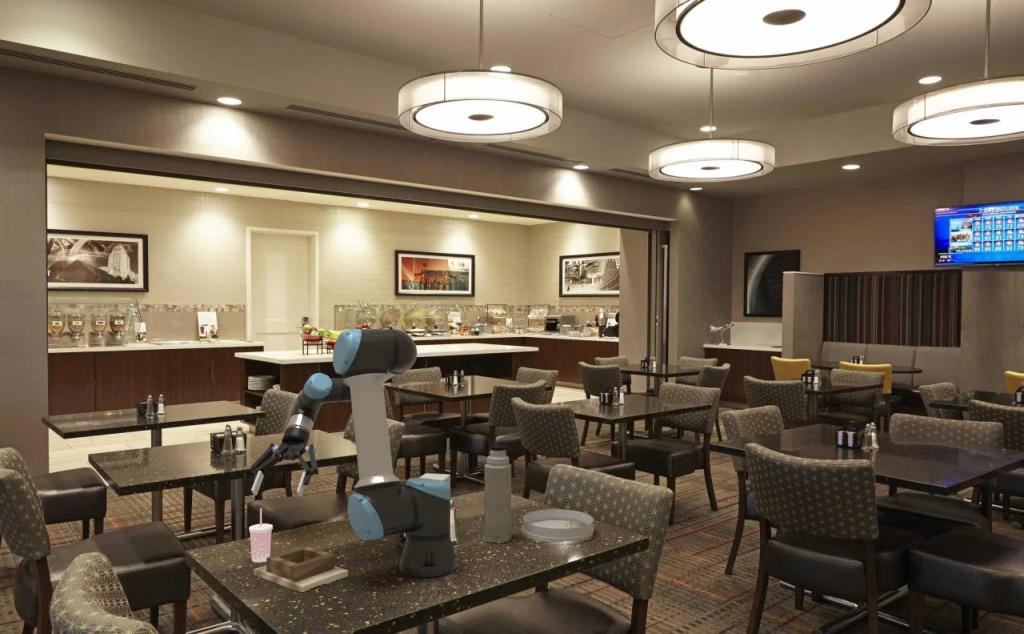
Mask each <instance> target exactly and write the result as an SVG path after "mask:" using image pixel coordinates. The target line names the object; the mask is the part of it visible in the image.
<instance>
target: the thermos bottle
mask: <svg viewBox="0 0 1024 634" xmlns="http://www.w3.org/2000/svg"><path fill="white" fill-rule="evenodd" d="M489 449H490V450H489V455H488V456H487V457H486V464H484V541H485V540H486V541H488V542H505V541H508V540H510V539H511V540H512V464H510V457H509V456H508V455H507V446H506V445H502V444H500V445H498V444H497V445H490V447H489ZM486 541H485V542H486ZM488 542H487V543H488Z"/></svg>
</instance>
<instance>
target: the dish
mask: <svg viewBox="0 0 1024 634" xmlns="http://www.w3.org/2000/svg"><path fill="white" fill-rule="evenodd" d="M569 521H575V522H580V523H584V524H586V526H582V527H578V528H569V527H570V526H569ZM567 523H568V525H565V524H567ZM566 526H568V527H566ZM566 528H567V529H566ZM521 529H522V530H521V533H522V532H523V534H524V535H526V536H527V537H529V538H531V539H535V540H539V541H546V542H564V541H575V540H579V539H584V538H586V537H589V536H591V535H592V534H593V532H594V533H595V527H594V518H593V516H592V515H590V514H589V513H586V512H582V511H577V510H574V509H572V510H570V509H560V508H552V509H551V508H550V509H539V510H535V511H530V512H528V513H526V514H525V515H523V517H522V526H521ZM523 534H522V535H523Z"/></svg>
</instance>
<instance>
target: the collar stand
mask: <svg viewBox="0 0 1024 634" xmlns="http://www.w3.org/2000/svg"><path fill="white" fill-rule="evenodd" d="M335 560H336V554H334V553H330V552H328V551H323V550H321V549H318V548H314V547H311V546H308V545H303V546H301V547H297V548H294V549H291V550H287V551H284V552H282V553H281V552H280V553H277V554H275V555H270V557H267V561H266V564H265V565H263V566H260V567H257V568H254V569H253V575H254V576H255V577H259V578H260V579H263V580H266V581H269V582H272V583H274V584H277V585H278V586H279V585H280V586H282V587H285V588H288V589H290V590H293V591H296V592H298V591H299V592H298V593H301V592H304V593H306V592H305V591H307V590H308V589H311V588H314V587H316V586H319V585H322V584H326V585H328V584H331V583H333V582H336V580H337V581H339V580H341V579H344V578H348V577H349V570H348V569H344V568H342V567H338V566H336V561H335ZM307 592H308V591H307Z"/></svg>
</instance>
